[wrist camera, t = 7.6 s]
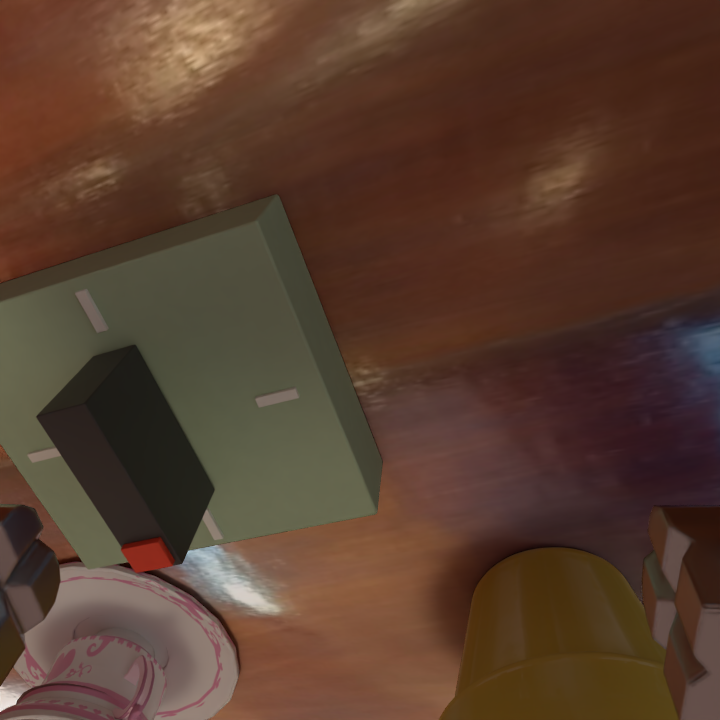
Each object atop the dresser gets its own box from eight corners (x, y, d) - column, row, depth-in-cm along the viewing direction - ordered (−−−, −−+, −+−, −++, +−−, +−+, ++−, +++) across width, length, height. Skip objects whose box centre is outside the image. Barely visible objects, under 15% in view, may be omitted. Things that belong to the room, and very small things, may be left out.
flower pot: (711, 519, 25) (852, 782, 17) (647, 689, 30) (730, 958, 22) (442, 495, 26) (446, 737, 18) (422, 665, 31) (418, 917, 23)
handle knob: (92, 355, 21) (30, 421, 18) (135, 343, 21) (79, 408, 17) (175, 498, 24) (134, 579, 20) (215, 489, 23) (180, 570, 20)
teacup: (150, 748, 37) (101, 877, 31) (-40, 633, 33) (-132, 756, 28) (291, 658, 32) (262, 793, 26) (85, 514, 29) (4, 634, 23)
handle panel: (278, 192, 21) (255, 222, 18) (383, 462, 26) (377, 518, 23) (-26, 291, 24) (-86, 329, 21) (119, 518, 28) (85, 573, 26)
